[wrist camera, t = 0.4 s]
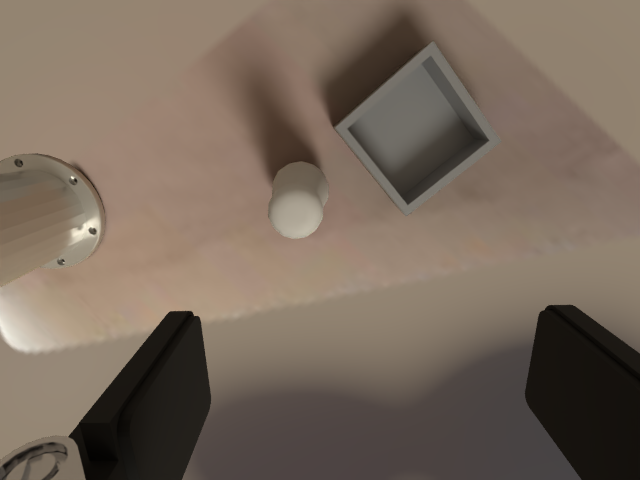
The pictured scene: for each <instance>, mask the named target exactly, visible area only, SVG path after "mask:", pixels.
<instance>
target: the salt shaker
mask: <svg viewBox="0 0 640 480" xmlns="http://www.w3.org/2000/svg"><path fill="white" fill-rule="evenodd" d="M328 192H329V185H328V182H327V180H326V177H325V175H324V173H323V172H322V171H320V170H319V169H318V168H317V167H316V166H315V165H313V164H309V163H306V162H303V161H300V162H294V163H289V164H288V165H286V166H285V167H283V168H282V169H280V170H279V171H278V173H277V175H276V177H275V179H274V181H273V187H272V198H271V200H270V202H269V208H268V217H269V219H270V221H271V223H272V226H273V228H274V229H275V230H277V231H278V232H279V233H280V234H281V235H282V236H285V237H289V238H293V239H297V238H303V237H307V236H308V235H310V234H311V233H313V232H314V231H315V230H316V229H317V227H318V226H319V224H320V222H321V221H322V219H323V206H324V205H325V203H326V201H327V199H328Z"/></svg>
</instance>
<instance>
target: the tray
mask: <svg viewBox="0 0 640 480" xmlns="http://www.w3.org/2000/svg"><path fill="white" fill-rule="evenodd" d="M333 128H334V129H335V131H336V132H337V133H338V134H339V136H340V137H341V138H342V139H343V141H344V142H345V143H346V144H347V146H348V147H349V148H350V149H351V151H352V152H353V153H354V154H355V155H356V157H357V158H358V159H359V160H360V162H361V163H362V164H363V165H364V167H365V168H366V169H367V170H368V172H369V173H370V174H371V175H372V177H373V178H374V179H375V180H376V181H377V183H378V184H379V185H380V186H381V188H382V189H383V190H384V191H385V193H386V194H387V195H388V196H389V198H390V199H391V200H392V201H393V203H394V204H395V205H396V206H397V207H398V208H399V209H400V211H401V212H402V213H403V214H404V215H405V216H407V215H409V214H410V213H411V212H413V211H414V210H415V209H416V208H418V207H419V206H420V205H421V204H423V203H424V202H425V201H427V200H428V199H429V198H430V197H432V196H433V195H434V194H435V193H437V192H438V191H439V190H440V189H442V188H443V187H444V186H446V185H447V184H448V183H449V182H451V181H452V180H453V179H454V178H456V177H457V176H458V175H460V174H461V173H462V172H463V171H465V170H466V169H467V168H468V167H470V166H471V165H472V164H474V163H475V162H476V161H477V160H479V159H480V158H481V157H482V156H484V155H485V154H486V153H488V152H489V151H490V150H491V149H493V148H494V147H495V146H496V145H498V144H499V143H500V142H502V141H501V140H500V139H499V137H498V136H497V134H496V133H495V131H494V130H493V128H492V127H491V125H490V124H489V122H488V121H487V119H486V118H485V116H484V115H483V114H482V112H481V111H480V109H479V108H478V106H477V105H476V103H475V102H474V100H473V99H472V97H471V96H470V94H469V93H468V91H467V90H466V89H465V87H464V86H463V84H462V83H461V81H460V80H459V78H458V77H457V75H456V74H455V72H454V71H453V69H452V68H451V66H450V65H449V63H448V62H447V61H446V59H445V58H444V56H443V55H442V53H441V52H440V50H439V49H438V47H437V46H436V44H435V43H434V41H432V42H431V43H429V44H428V45H427V46H425V47H424V48H422V49H421V50H419V51H418V52H417V53H416V54H415V55H414V56H413V57H412V58H410V59H409V60H408V61H407V62H406V63H405V64H404V65H403V66H401V67H400V68H399V69H398V70H397V71H396V72H395V73H393V74H392V75H391V76H390V77H389V78H388V79H387V80H386V81H384V82H383V83H382V84H381V85H380V86H379V87H378V88H377V89H375V90H374V91H373V92H372V93H371V94H370V95H369V96H368V97H366V98H365V99H364V100H363V101H362V102H361V103H360V104H358V105H357V106H356V107H355V108H354V109H353V110H352V111H351V112H349V113H348V114H347V115H346V116H345V117H344V118H343V119H342V120H340V121H339V122H338V123H337V124H336V125H335V126H334V127H333Z"/></svg>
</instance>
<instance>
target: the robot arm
mask: <svg viewBox="0 0 640 480" xmlns="http://www.w3.org/2000/svg"><path fill="white" fill-rule="evenodd" d="M104 230H105V213H104V209H103V205H102V202H101V200H100V198H99V196H98V194H97V191H96V190H95V189H94V187H93V186H92V184H91V183H90V182H89V180H88V179H87V178H86V177H85V176H84V175H83V174H82V173H81V172H79V171H78V170H77V169H75V168H74V167H73V166H71V165H70V164H68V163H66V162H64V161H62V160H60V159H57V158H54V157H51V156H48V155H42V154H22V155H15V156H12V157H9V158H6V159H4V160H2V161H1V162H0V287H2V286H4V285H6V284H8V283H10V282H12V281H14V280H16V279H18V278H20V277H22V276H23V275H25V274H27V273H29V272H31V271H33V270H35V269H37V268H39V267H41V268H49V269H60V268H66V267H70V266H73V265H75V264H77V263H80V262H81V261H83V260H85V259H86V258H88V257H89V256H90V255H91V254H92V253H93V252H94V251H95V250H96V249H97V247H98V246H99V244H100V243H101V240H102V238H103V235H104ZM525 398H526V402H527V404H528V406H529V408H530V409H531V410H532V412H533V413H534V414H535V416H536V417H537V418H538V420H539V421H540V423H541V424H542V425H543V427H544V428H545V430H546V431H547V432H548V434H549V435H550V437H551V438H552V439H553V441H554V442H555V443H556V445H557V446H558V447H559V449H560V450H561V452H562V453H563V455H564V456H565V457H566V459H567V460H568V461H569V463H570V464H571V466H572V467H573V468H574V470H575V471H576V472H577V474H578V475H579V477H580V478H581V479H582V480H640V354H639V353H638V352H637V351H635V350H634V349H633V348H631V347H630V346H628V345H627V344H626V343H624V342H623V341H621V340H620V339H619V338H618V337H616V336H615V335H613V334H612V333H611V332H609V331H608V330H607V329H605V328H604V327H603V326H601V325H600V324H598V323H597V322H596V321H594V320H593V319H592V318H590V317H589V316H588V315H586V314H585V313H583V312H582V311H581V310H579V309H578V308H577V307H575V306H573V305H549V306H547V307H546V308H545V310H544V311H541V312H540V314H539V317H538V322H537V328H536V333H535V339H534V345H533V350H532V356H531V362H530V367H529V373H528V378H527V384H526V390H525ZM210 404H211V394H210V387H209V379H208V371H207V365H206V357H205V349H204V342H203V335H202V328H201V321H200V318H199V316H194V314H193V312H192V311H170V312H169V313H168V314H167V315H166V316H165V318H164V319H163V320H162V321H161V322H160V324H159V325H158V326H157V327H156V329H155V330H154V331H153V332H152V334H151V335H150V336H149V337H148V338H147V340H146V341H145V342H144V343H143V345H142V346H141V347H140V348H139V350H138V351H137V352H136V353H135V354H134V356H133V357H132V358H131V360H130V361H129V362H128V363H127V364H126V366H125V367H124V368H123V369H122V370H121V372H120V373H119V374H118V375H117V377H116V378H115V379H114V380H113V382H112V383H111V384H110V385H109V387H108V388H107V389H106V390H105V391H104V393H103V394H102V395H101V397H100V398H99V399H98V400H97V401H96V403H95V404H94V405H93V406H92V408H91V409H90V410H89V411H88V413H87V414H86V415H85V416H84V417H83V419H82V420H81V421H80V422H79V424H78V425H77V427H76V428H75V429H74V430H73V432H72V433H71V434H70V435H69V437H67V436H50V437H45V438H41V439H38V440H35V441H32V442H30V443H27V444H25V445H23V446H21V447H19V448H18V449H16V450H14V451H12V452H11V453H10V454H8V455H6V456H5V457H4V458H2V459H1V460H0V480H182V478H183V475H184V473H185V470H186V468H187V465H188V463H189V460H190V458H191V455H192V453H193V450H194V447H195V445H196V442H197V440H198V437H199V435H200V432H201V430H202V427H203V425H204V422H205V419H206V417H207V415H208V412H209V409H210Z"/></svg>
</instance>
